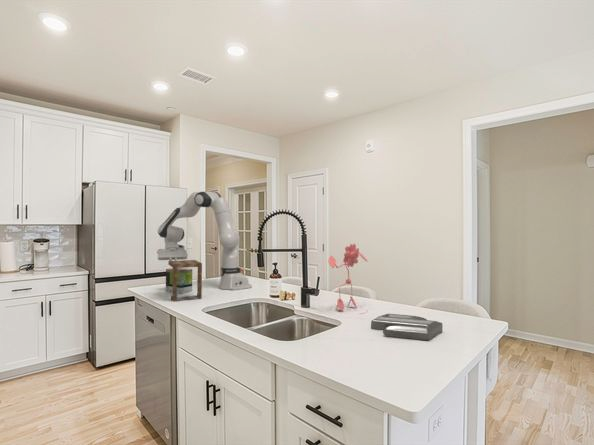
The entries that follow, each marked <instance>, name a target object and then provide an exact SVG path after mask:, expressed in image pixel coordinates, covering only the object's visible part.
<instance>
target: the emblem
mask: <svg viewBox="0 0 594 445" xmlns="http://www.w3.org/2000/svg"><path fill="white" fill-rule="evenodd" d="M370 328H371V330H374V331H375V330H377V331H382V334H383V336H385V337H389V338H398V339H399V338H401V339H402V338H403V339H412V340H420V341H421V340H422V341H430V340H432V339H433V338H435V337H437V336H439V335H440V334H441V333H443V322H441V321H437V320H430V319H429V320H428V319H427V318H425V317H421V316H416V315H410V314H409V315H408V314H407V315H406V314H398V313H397V314H395V313H386V314H382V315H378V316H377V317H376V318H374V319H372V320H371V321H370Z"/></svg>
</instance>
